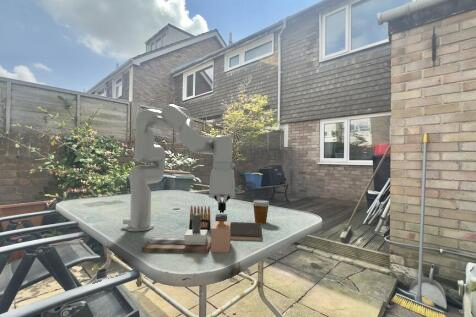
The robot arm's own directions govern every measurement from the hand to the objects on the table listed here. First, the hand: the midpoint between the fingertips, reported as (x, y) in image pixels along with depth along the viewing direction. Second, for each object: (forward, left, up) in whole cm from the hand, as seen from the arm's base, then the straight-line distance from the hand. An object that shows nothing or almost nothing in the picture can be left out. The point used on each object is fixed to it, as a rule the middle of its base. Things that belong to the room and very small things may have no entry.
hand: (221, 212), depth 95 cm
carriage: (-10, 0, -12) cm, 16 cm away
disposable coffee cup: (+19, +40, -14) cm, 47 cm away
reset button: (0, 0, -7) cm, 7 cm away
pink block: (0, 0, -14) cm, 14 cm away
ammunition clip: (-13, +24, -14) cm, 31 cm away
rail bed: (-17, 0, -14) cm, 22 cm away
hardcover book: (+10, +21, -15) cm, 28 cm away
